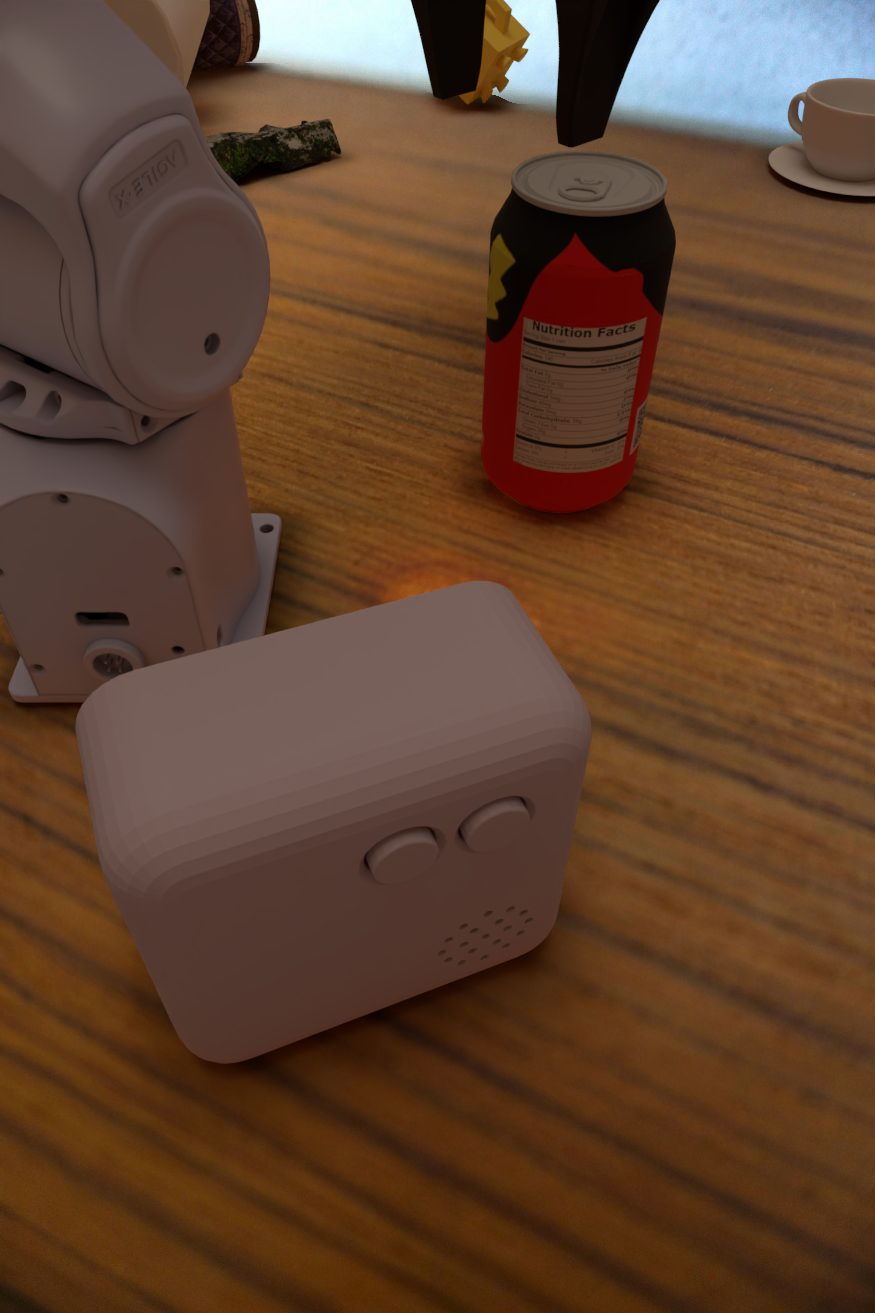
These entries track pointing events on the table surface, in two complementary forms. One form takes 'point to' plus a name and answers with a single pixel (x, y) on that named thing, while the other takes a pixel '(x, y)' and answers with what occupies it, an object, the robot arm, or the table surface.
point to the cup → (167, 29)
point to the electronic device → (336, 812)
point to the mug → (229, 35)
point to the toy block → (498, 49)
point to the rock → (273, 147)
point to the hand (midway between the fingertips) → (514, 115)
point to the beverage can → (573, 326)
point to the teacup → (832, 138)
